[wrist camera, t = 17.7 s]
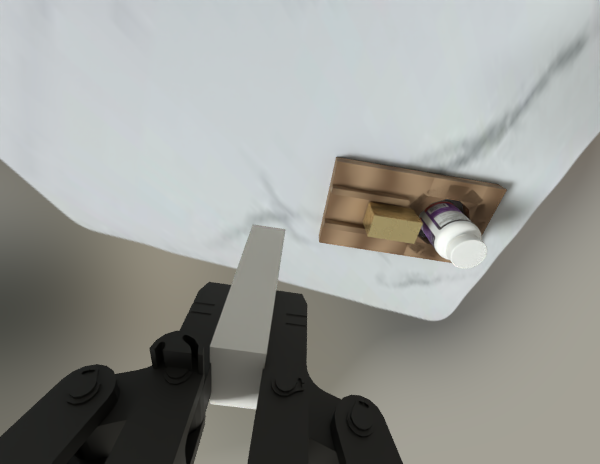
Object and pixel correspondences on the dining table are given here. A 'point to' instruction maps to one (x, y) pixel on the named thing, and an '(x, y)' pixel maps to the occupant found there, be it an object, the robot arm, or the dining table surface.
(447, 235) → the pill bottle
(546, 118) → the dining table surface
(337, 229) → the dock plate
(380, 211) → the bar
